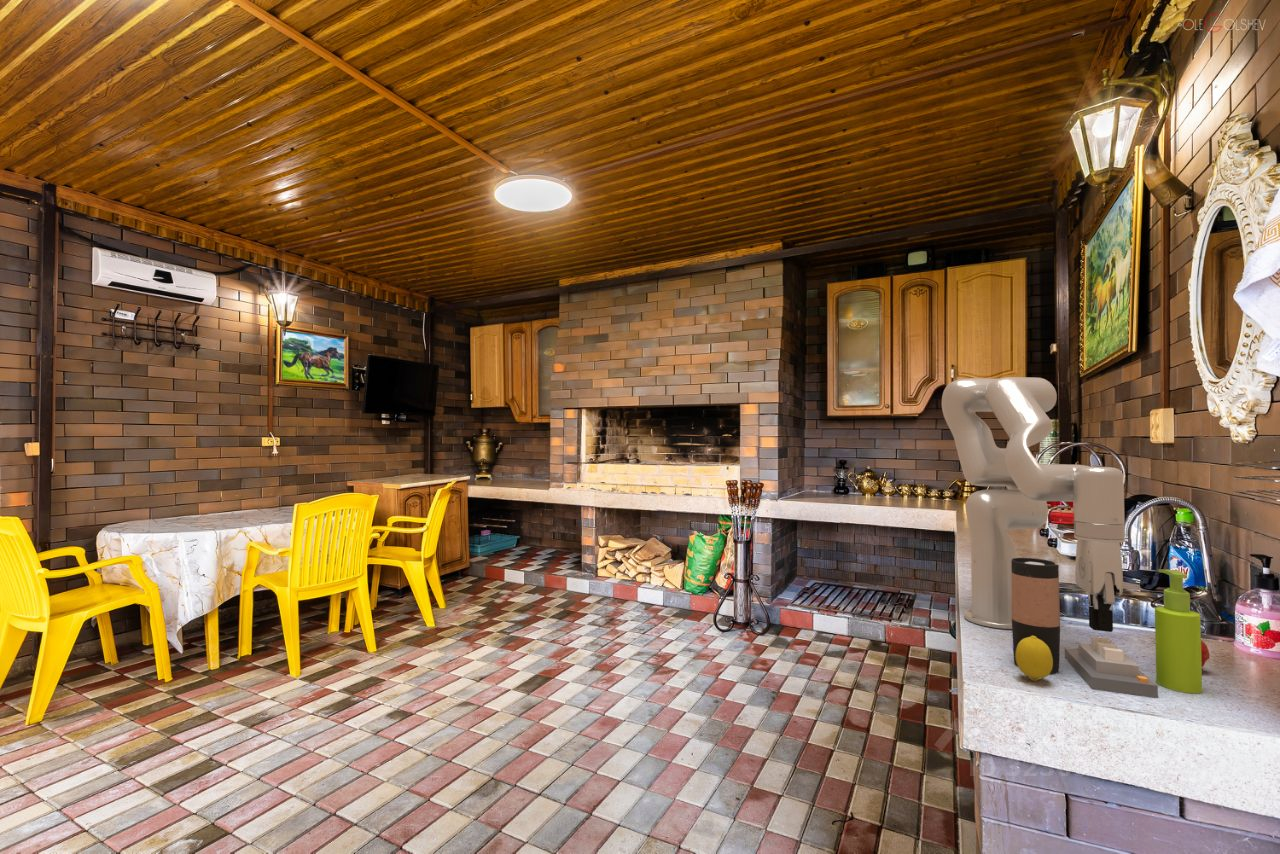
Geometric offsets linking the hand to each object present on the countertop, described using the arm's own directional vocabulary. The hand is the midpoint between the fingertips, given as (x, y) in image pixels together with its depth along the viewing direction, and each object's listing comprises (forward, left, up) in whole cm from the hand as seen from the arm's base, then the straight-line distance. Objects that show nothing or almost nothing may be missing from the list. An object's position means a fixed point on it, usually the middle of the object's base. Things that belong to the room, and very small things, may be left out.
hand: (1100, 629), depth 108 cm
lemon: (+11, -13, -8) cm, 19 cm away
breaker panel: (+3, 0, -8) cm, 8 cm away
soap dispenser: (+3, +10, -8) cm, 13 cm away
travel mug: (+3, -11, -8) cm, 14 cm away
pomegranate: (-8, +15, -8) cm, 19 cm away
